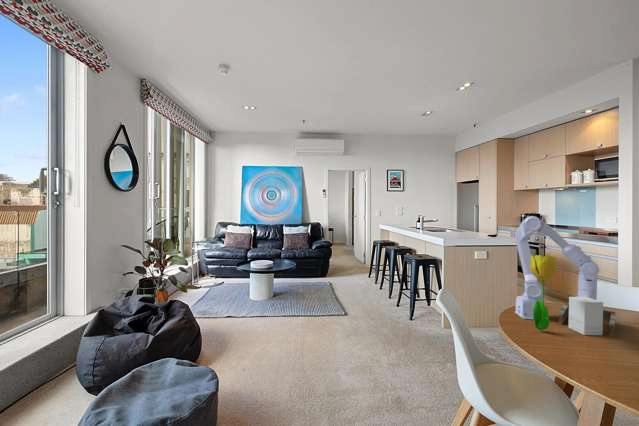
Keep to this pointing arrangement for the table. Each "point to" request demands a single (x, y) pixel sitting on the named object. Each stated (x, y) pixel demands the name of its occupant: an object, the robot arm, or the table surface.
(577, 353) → the table surface
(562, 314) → the cold frame
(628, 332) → the table surface
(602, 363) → the table surface
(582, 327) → the supplement box
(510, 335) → the table surface
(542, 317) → the flower
